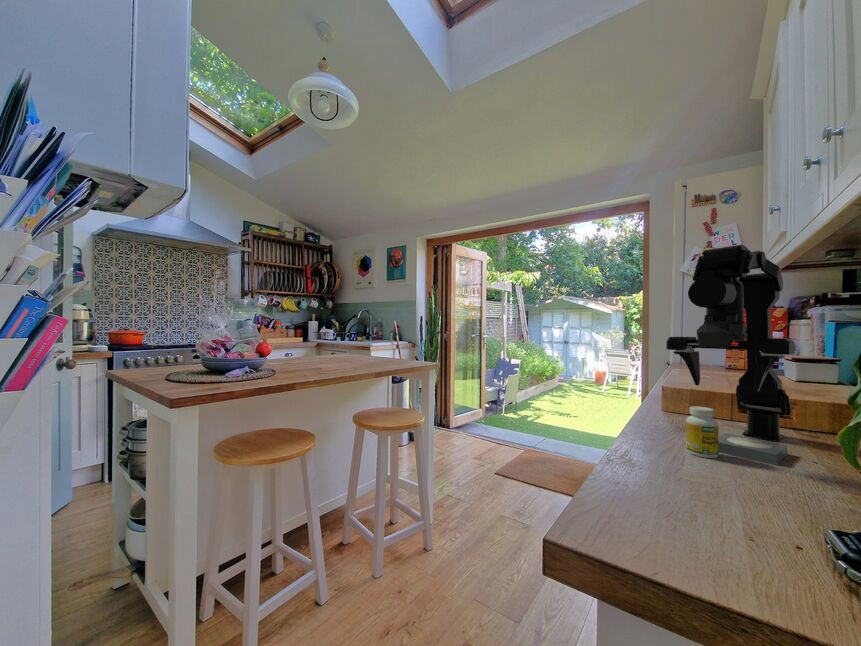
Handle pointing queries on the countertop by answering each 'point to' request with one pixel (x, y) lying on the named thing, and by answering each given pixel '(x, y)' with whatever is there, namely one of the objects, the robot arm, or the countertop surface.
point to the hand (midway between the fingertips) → (725, 388)
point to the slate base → (752, 448)
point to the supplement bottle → (702, 433)
